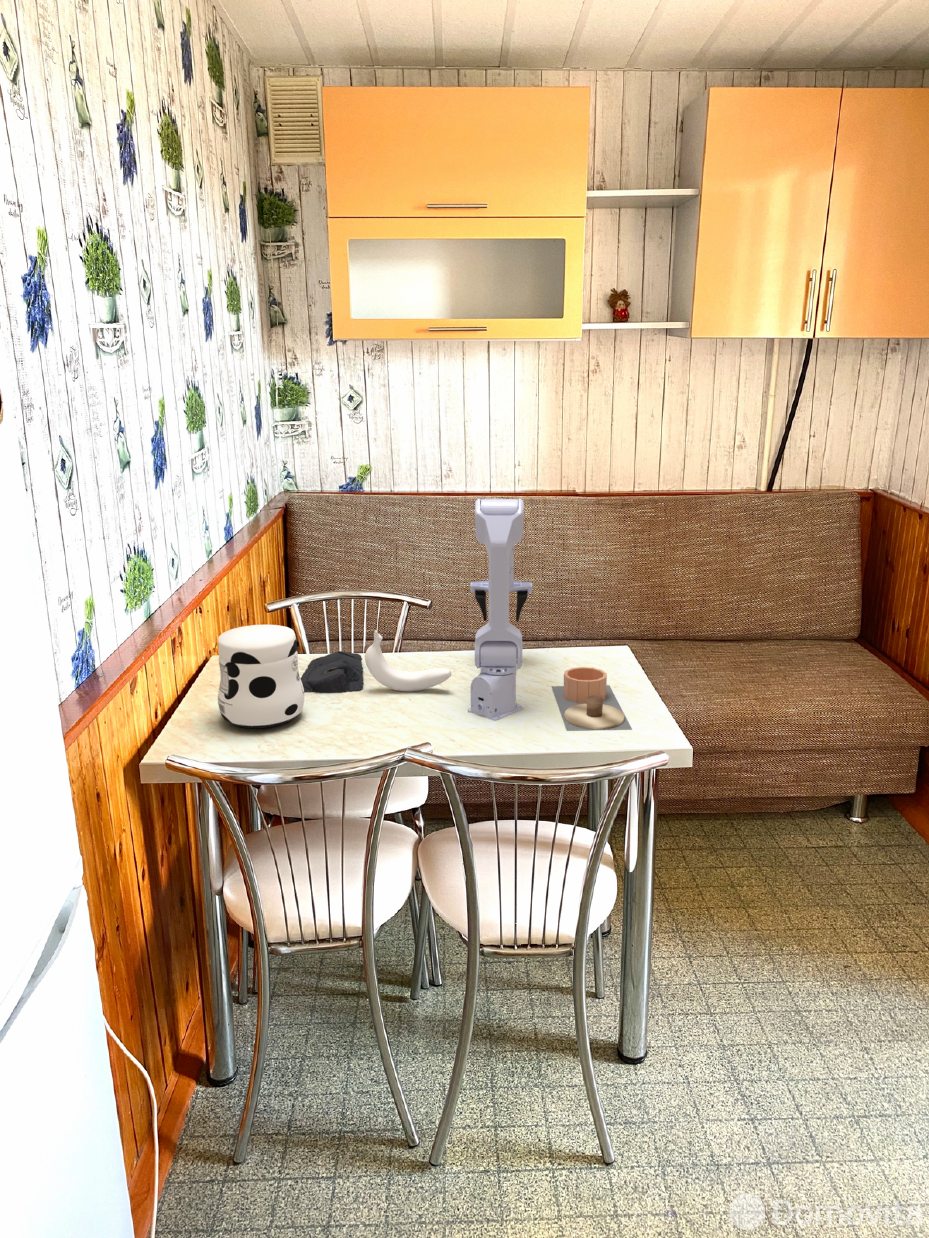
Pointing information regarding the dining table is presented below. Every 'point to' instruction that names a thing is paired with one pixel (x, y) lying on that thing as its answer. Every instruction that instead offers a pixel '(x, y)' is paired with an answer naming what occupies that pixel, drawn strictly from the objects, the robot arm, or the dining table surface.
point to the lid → (594, 715)
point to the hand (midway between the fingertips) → (501, 619)
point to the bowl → (584, 684)
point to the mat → (566, 704)
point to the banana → (400, 672)
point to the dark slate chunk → (334, 673)
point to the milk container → (259, 676)
